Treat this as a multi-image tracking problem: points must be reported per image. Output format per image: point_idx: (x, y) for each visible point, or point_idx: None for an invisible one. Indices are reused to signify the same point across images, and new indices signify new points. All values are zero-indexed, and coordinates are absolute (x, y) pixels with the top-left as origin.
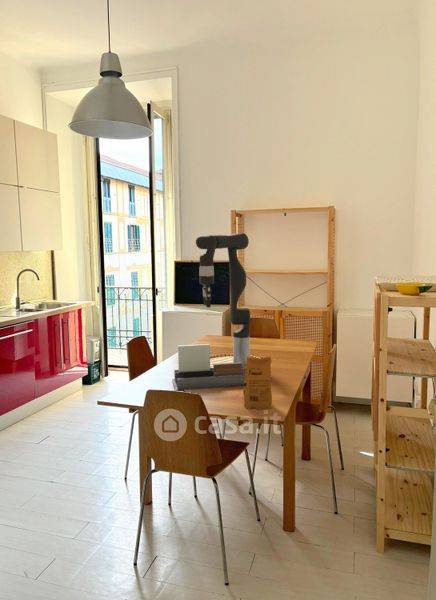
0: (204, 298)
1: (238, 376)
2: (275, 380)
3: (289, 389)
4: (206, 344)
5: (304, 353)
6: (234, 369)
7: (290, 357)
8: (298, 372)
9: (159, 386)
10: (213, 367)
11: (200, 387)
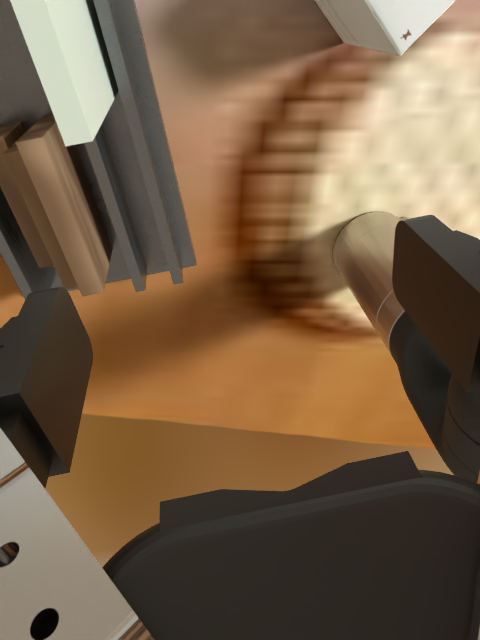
0: (473, 307)
1: (6, 258)
2: (153, 362)
3: None
4: (65, 112)
5: None
6: (48, 250)
7: None
8: (249, 423)
9: None
10: (45, 132)
11: None
